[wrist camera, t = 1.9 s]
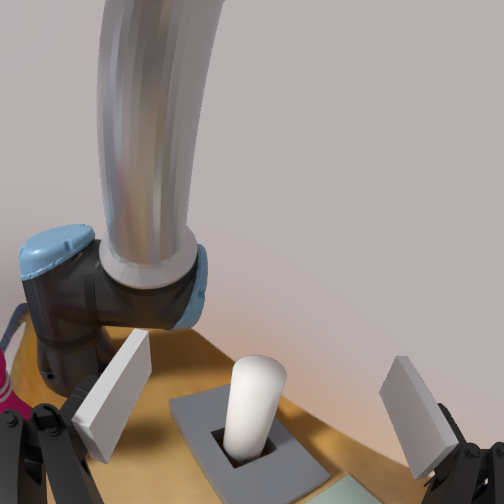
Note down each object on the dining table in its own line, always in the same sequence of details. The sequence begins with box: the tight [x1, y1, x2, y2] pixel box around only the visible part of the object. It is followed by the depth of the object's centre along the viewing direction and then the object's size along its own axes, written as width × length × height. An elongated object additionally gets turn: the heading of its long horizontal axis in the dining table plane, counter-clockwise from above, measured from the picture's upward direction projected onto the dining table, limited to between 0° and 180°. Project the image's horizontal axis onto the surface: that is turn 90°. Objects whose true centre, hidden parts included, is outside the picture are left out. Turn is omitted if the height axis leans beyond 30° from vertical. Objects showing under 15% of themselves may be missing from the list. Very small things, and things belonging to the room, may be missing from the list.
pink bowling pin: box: [0, 348, 33, 420], centre depth 17 cm, size 7×7×20 cm
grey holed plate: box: [169, 384, 331, 504], centre depth 29 cm, size 20×12×3 cm, turn 31°
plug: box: [222, 355, 287, 467], centre depth 27 cm, size 5×5×16 cm
